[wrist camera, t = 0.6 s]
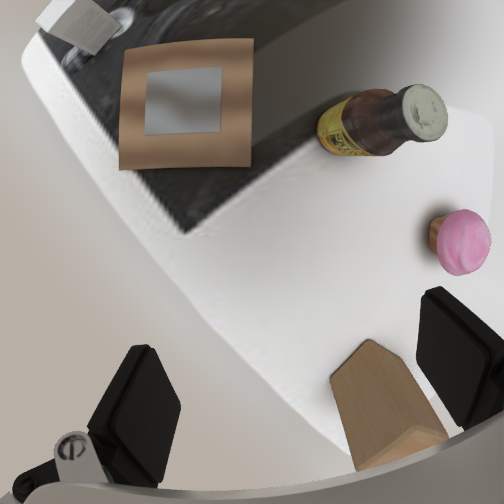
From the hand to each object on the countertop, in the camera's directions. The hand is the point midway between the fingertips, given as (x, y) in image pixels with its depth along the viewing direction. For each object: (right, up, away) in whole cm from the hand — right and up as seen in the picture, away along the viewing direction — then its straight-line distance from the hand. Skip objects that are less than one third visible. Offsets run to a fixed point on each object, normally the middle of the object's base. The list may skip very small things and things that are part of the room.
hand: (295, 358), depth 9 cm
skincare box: (-23, +34, +20) cm, 46 cm away
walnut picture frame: (-9, +22, +24) cm, 34 cm away
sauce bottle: (+10, +18, +25) cm, 33 cm away
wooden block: (+18, -16, +36) cm, 43 cm away
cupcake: (+26, +7, +28) cm, 39 cm away
